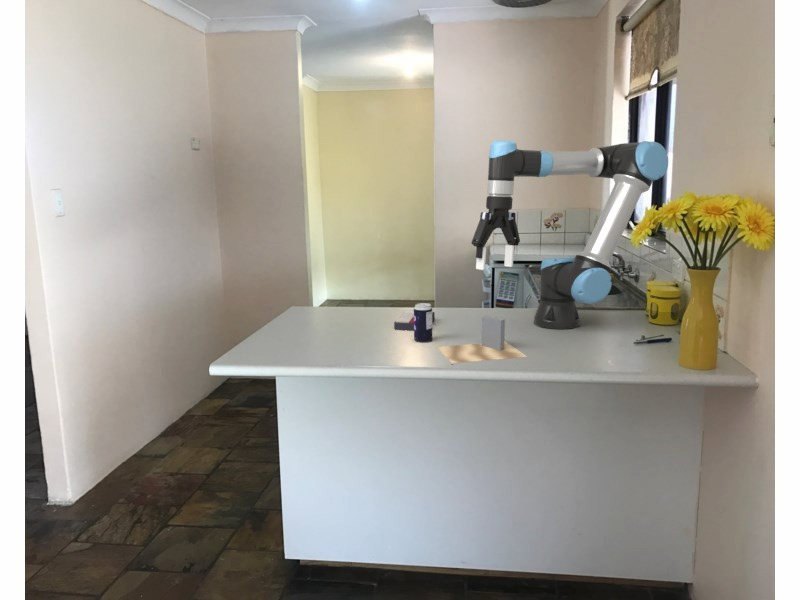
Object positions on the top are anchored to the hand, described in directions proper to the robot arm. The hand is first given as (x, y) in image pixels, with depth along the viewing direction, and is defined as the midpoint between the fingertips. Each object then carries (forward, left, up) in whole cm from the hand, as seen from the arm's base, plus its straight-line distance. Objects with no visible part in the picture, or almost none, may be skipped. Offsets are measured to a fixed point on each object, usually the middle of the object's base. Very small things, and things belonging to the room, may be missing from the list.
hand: (494, 268), depth 175 cm
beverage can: (+20, -7, -24) cm, 32 cm away
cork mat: (+7, +9, -24) cm, 26 cm away
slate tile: (+2, +6, -23) cm, 24 cm away
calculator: (+18, -29, -24) cm, 42 cm away
